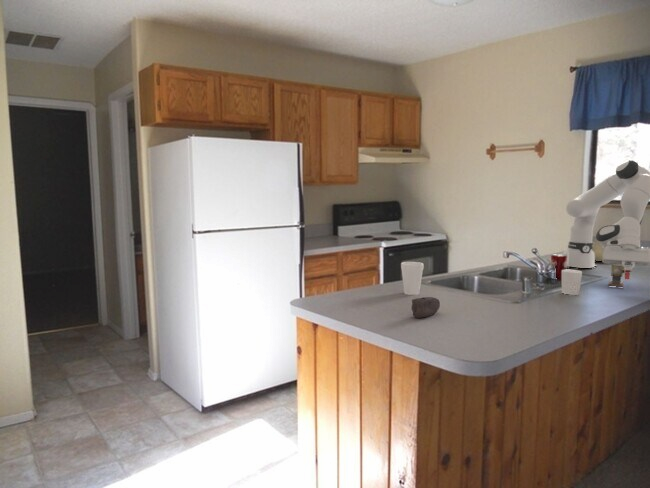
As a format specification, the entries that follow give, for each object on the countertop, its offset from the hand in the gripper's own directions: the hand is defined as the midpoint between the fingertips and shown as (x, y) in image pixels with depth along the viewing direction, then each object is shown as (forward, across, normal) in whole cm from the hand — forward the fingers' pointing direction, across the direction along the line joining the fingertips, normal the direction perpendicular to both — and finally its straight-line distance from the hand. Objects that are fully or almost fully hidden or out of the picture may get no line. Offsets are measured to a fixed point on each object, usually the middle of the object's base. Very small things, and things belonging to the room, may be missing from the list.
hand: (627, 271), depth 217 cm
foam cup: (+43, +80, +30) cm, 96 cm away
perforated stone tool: (+66, +63, +52) cm, 105 cm away
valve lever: (-7, 0, -9) cm, 12 cm away
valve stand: (-1, +4, -14) cm, 14 cm away
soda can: (-5, +29, -17) cm, 34 cm away
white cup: (+20, +21, +7) cm, 30 cm away
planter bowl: (-58, +13, -69) cm, 91 cm away
